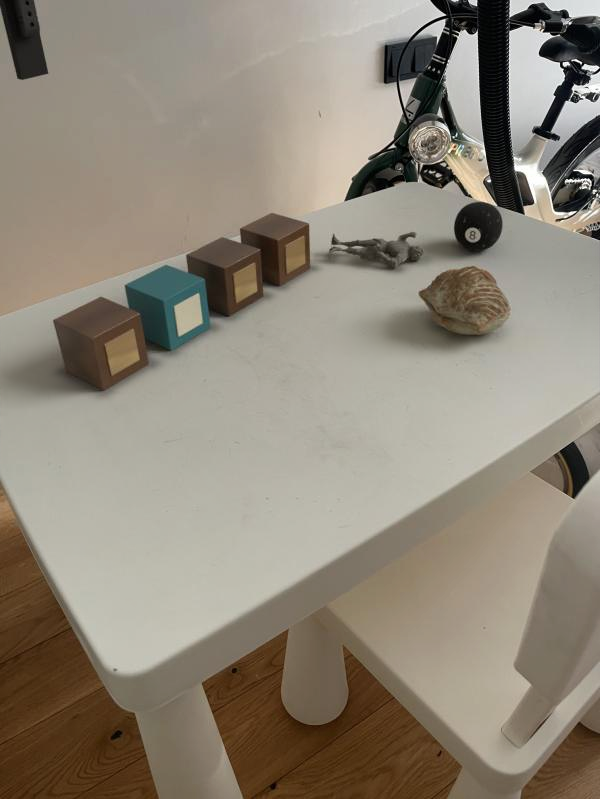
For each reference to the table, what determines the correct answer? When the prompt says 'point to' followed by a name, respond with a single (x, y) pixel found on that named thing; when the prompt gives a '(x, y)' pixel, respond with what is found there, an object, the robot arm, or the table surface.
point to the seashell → (466, 301)
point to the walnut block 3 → (279, 246)
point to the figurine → (381, 249)
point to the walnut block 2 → (228, 274)
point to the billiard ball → (478, 226)
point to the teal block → (169, 305)
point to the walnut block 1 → (101, 342)
